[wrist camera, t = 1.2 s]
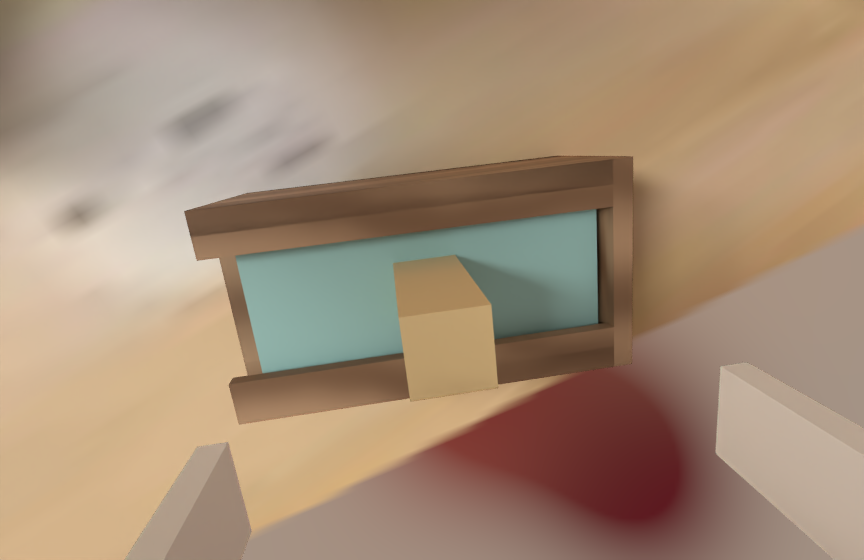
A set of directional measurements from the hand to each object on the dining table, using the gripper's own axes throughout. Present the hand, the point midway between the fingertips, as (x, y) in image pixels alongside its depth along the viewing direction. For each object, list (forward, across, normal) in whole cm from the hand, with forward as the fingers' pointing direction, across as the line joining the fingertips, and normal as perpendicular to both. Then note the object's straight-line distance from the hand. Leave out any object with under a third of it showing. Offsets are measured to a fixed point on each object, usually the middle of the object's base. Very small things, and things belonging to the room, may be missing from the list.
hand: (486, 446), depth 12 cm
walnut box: (+24, 0, 0) cm, 25 cm away
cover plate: (+16, 0, 0) cm, 17 cm away
